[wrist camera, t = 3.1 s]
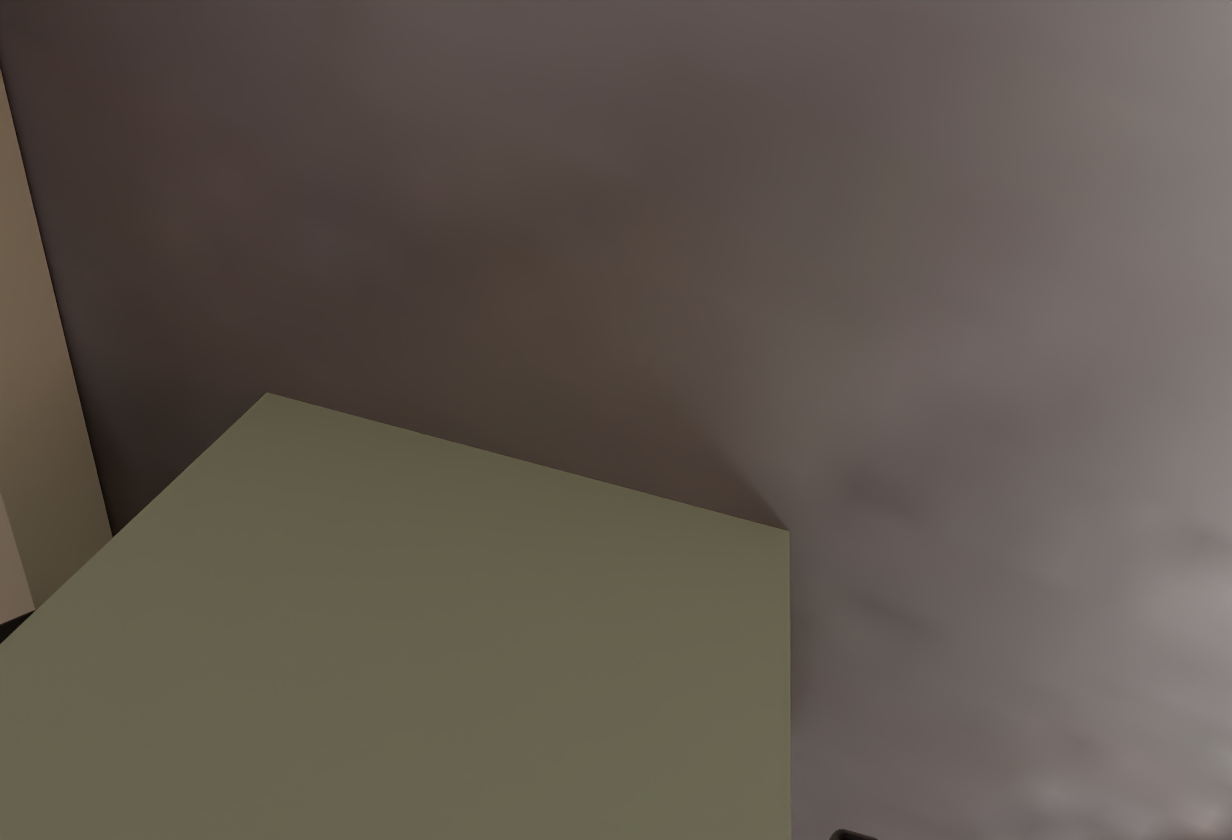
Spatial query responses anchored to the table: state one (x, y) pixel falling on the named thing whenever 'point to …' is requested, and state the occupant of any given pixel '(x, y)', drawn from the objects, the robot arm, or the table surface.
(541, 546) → the sage cube
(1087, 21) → the table surface
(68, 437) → the tray
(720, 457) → the table surface
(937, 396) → the table surface
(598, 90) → the table surface
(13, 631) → the robot arm
